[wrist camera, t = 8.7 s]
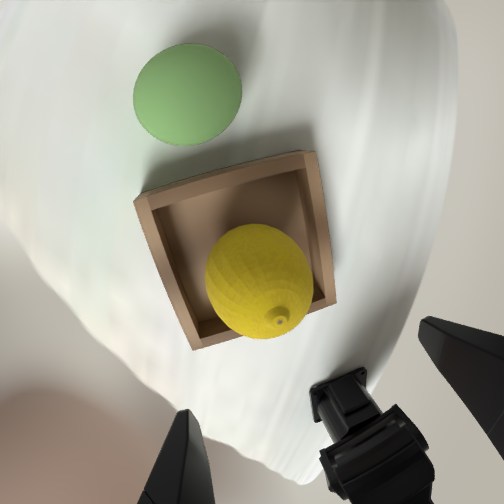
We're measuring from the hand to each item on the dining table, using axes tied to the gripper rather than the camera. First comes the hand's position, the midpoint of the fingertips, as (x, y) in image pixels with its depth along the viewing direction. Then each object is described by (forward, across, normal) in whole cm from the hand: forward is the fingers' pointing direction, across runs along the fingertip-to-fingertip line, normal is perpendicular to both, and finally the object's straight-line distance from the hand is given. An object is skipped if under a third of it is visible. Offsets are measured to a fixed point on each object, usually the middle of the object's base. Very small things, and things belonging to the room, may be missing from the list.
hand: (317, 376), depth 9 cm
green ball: (+12, +1, -11) cm, 16 cm away
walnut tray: (+12, 0, -1) cm, 12 cm away
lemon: (+12, 0, -1) cm, 12 cm away
